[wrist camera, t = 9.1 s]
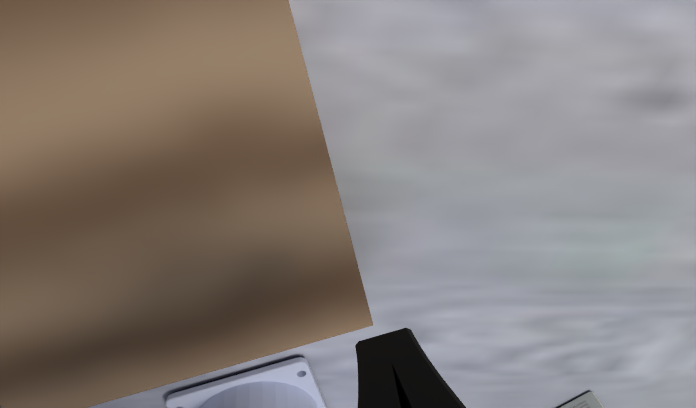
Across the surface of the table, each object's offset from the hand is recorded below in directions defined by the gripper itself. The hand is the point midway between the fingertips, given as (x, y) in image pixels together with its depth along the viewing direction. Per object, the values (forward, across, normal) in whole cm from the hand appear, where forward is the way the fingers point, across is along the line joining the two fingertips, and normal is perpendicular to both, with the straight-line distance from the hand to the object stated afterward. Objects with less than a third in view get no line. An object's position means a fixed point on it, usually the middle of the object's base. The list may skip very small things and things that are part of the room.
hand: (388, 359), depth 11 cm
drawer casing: (+9, +8, -3) cm, 13 cm away
